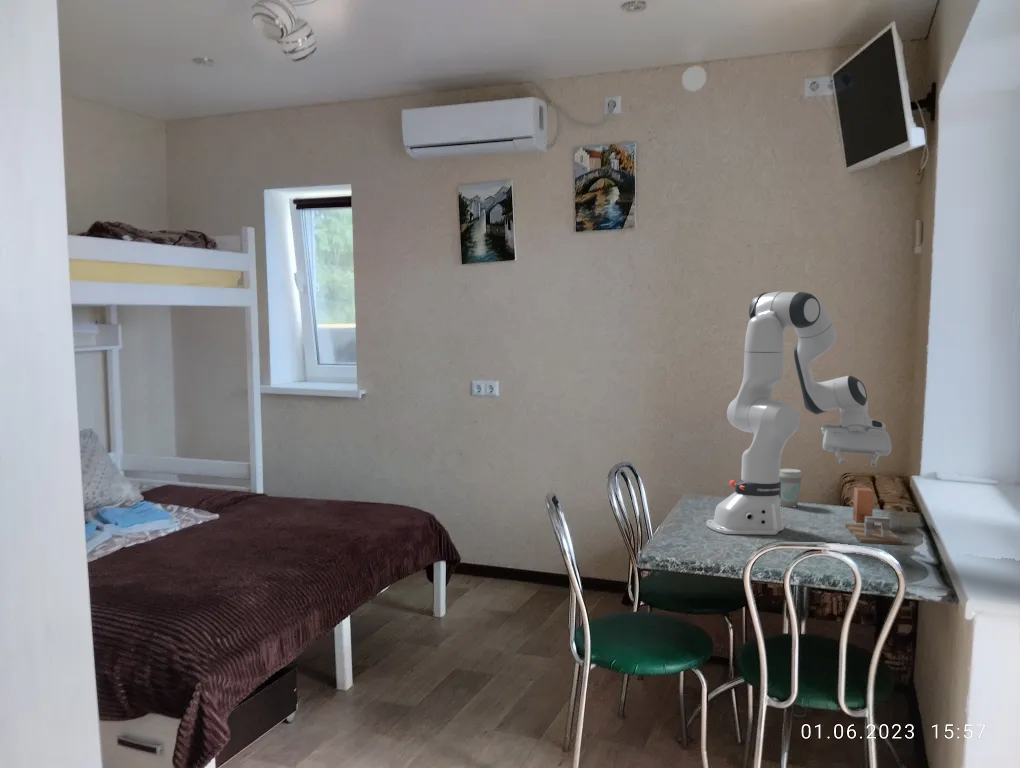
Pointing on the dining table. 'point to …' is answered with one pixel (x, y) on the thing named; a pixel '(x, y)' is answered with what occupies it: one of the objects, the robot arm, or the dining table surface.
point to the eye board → (874, 531)
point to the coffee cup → (790, 486)
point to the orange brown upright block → (862, 504)
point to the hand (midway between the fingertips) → (858, 464)
